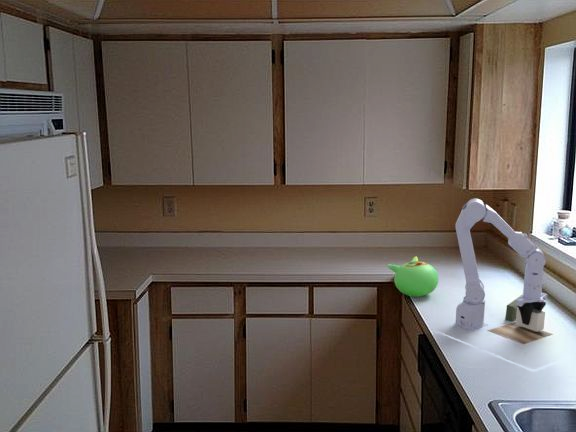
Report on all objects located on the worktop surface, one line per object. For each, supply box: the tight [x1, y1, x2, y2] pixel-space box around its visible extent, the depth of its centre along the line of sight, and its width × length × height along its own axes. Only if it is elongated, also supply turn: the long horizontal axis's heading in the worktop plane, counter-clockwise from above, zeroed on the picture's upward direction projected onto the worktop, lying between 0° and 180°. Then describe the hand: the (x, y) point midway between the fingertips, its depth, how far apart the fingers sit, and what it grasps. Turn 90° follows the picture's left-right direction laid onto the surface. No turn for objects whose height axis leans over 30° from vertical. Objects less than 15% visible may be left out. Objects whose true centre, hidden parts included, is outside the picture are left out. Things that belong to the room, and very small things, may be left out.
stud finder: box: [515, 308, 546, 332], centre depth 202 cm, size 4×8×6 cm, turn 34°
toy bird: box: [386, 255, 439, 298], centre depth 240 cm, size 18×17×15 cm
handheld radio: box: [504, 294, 523, 322], centre depth 221 cm, size 7×3×25 cm
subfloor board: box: [486, 321, 554, 345], centre depth 201 cm, size 16×14×1 cm
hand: (529, 322), depth 203 cm, fingers closed on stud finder, 4 cm apart
